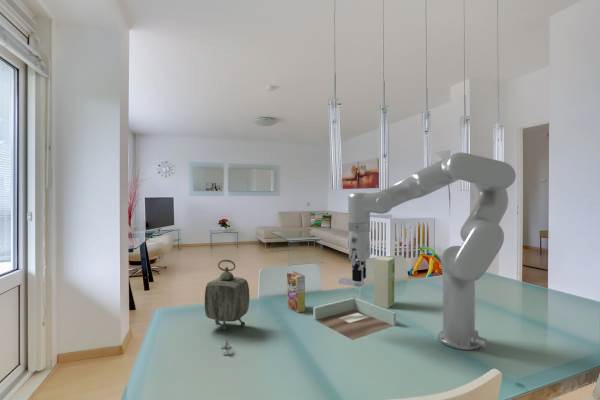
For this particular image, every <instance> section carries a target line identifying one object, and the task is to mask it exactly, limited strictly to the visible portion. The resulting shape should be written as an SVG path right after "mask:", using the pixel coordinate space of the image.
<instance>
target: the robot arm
mask: <svg viewBox="0 0 600 400" xmlns="http://www.w3.org/2000/svg"><path fill="white" fill-rule="evenodd" d="M516 176H517V175H516V170H515V169H514V168H513V166H512V165H511V164H509V163H507V162H505V161H501V160H498V159H493V158H490V157H489V158H488V157H485V156H480V155H476V154H472V153H469V152H467V153H466V152H455V153H452V154H451V155H448V156H447V157H445V158H442V159H441V160H439V161H436V162H434V163H433V164H430V165H428V166H427V167H424V168H422V169H419V170H418V171H415V172H414V173H412V174H410V175H408V176H407V177H405V178H404V179H402V180H400V181H399V182H396V183H394V184H393V185H390V186H388V187H386V188H384V189H382V190H379V191H377V192H369V193H368V192H351V193H349V195H348V198H347V202H348V203H347V204H348V205H347V209H348V212H347V213H348V214H347V216H348V218H347V219H348V223H347V225H348V227H347V228H348V229H347V231H348V232H349V240H348V258H349V260H350V264H351V270H352V271H351V273H352V275H351V279H352V280H353V281H358V282H361V281H362V270H361V264H364V280H365V279H366V278H367V261H368V260H369V259H370V258H371V242H370V241H371V240H370V232H371V213H374V214H380V215H382V214H387V213H389V212H390V211H392V209H393V208H395V207H397V206H399V205H401V204H404V203H406V202H409V201H411V200H416V199H419V198H420V199H421V198H422V197H424V196H428V195H431V194H432V193H434V192H436V191H438V190H440V189H443V188H444V187H447V186H449V185H451V184H453V183H456V182H457V181H465V182H467V183H470V184H474V185H475V187H476V189H477V192H478V199H477V202H476V203H475V205H474V207H473V209H472V211H471V212H470V214H469V216H468V217H467V219H466V221H465V222H464V223H463V225H462V227H461V229H460V234H459V235H460V238H461V240H462V241H463V243H462V245H461V246H460V245H453V246H449V247H447V248H445V250H444V251H443V253H442V255H441V261H440V262H441V263H440V265H441V274H442V276H441V277H442V330H441V331H439V332H438V333H437V339H438V340H439V342H441V343H442V344H444V345H445V346H448V347H451V348H453V349H458V350H463V351H465V350H466V351H473V350H477V349H479V348H480V347H483V348H487V347H488V339H487V338H485V337H482V336H480V335H479V330H476V318H475V317H476V286H475V285H476V284H475V282H476V281H478V280H479V279H481V278H483V276H484V274H486V272H487V271H488V269H489V268H490V266H491V264H493V262H494V259H495V258H496V257H497V255H498V254H499V252H500V250H501V248H502V247H503V244H504V240H505V233H504V230H503V228H502V227H501V225H500V223H501V221H502V219H503V217H504V215H505V214H506V211H507V210H508V207H509V196H508V192H507V189H508V188H510V187H511V186H512V185H513V184H514V183H515V181H516Z"/></svg>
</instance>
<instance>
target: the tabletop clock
mask: <svg viewBox="0 0 600 400" xmlns="http://www.w3.org/2000/svg"><path fill="white" fill-rule="evenodd" d="M224 262H225V263H226V262H227V263H231V264H232V265H233V268H231V269H230V268H229V267H227V266H226V267H225V268H222V267H221V266H220V265H221V263H224ZM217 266H218V269H219V270H220V271H223V272H221V274H220V275H219V277H217V278H215V279H213V280H211V281H209V282H207V283H206V286H205V290H204V312H205V316H206V317H207V318H208V319H211V320H214V322H215V323H216V324H219V323H220V322H223V324H222V325H221V326H220V327H221V330H222V331H225V330H227V329H226V328H227V326H226V322H236V321H239V322H240V326H241V327H245V325H246V323H245V321H243V320H242V319H241V318H242V317H243V316H245V315H247V313H248V311H249V306H250V287H249V283H248V280H247V279H245V278H243V277H237V276H234V275H233V273H232V271H234V270H235V269H236V264H235V261H232V260H230V259H222V260H219V262H218V264H217Z"/></svg>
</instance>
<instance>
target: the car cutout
mask: <svg viewBox="0 0 600 400" xmlns="http://www.w3.org/2000/svg"><path fill="white" fill-rule="evenodd" d="M228 342H229V341H228V338H227V336H226V338H225V343H222V344H221V345H220V349H225V350H223V351H222V356H227V355H233V354H234V350H233V349H229V348H232V343H230V342H229V343H228Z"/></svg>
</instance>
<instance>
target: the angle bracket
mask: <svg viewBox="0 0 600 400" xmlns="http://www.w3.org/2000/svg"><path fill="white" fill-rule="evenodd" d="M361 270H362V281H361V282H358V281H353V280H352V278H347V277H342V278H340V279H338V284H340V285H347V286H353V287H358V288H361V287H362V286H363V285H364V284H365V279H364V264H361Z"/></svg>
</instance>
